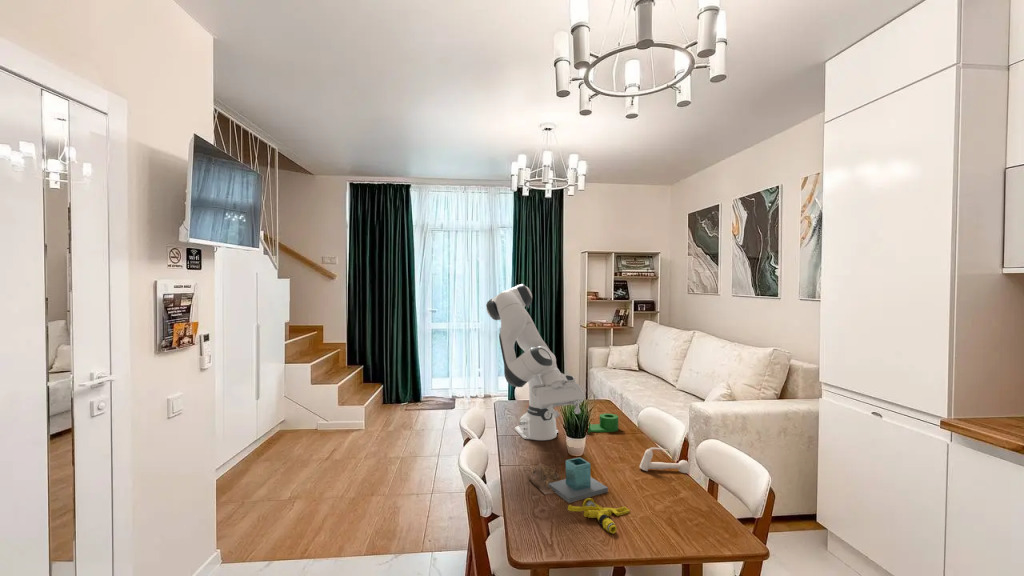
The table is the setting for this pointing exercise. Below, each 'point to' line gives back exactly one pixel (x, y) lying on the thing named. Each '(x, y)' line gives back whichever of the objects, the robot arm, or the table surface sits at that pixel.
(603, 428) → the green bracket
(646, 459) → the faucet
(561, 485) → the post
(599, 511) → the sprinkler
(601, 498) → the table surface
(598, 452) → the table surface
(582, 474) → the teal square cup
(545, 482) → the wooden fragment
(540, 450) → the table surface
